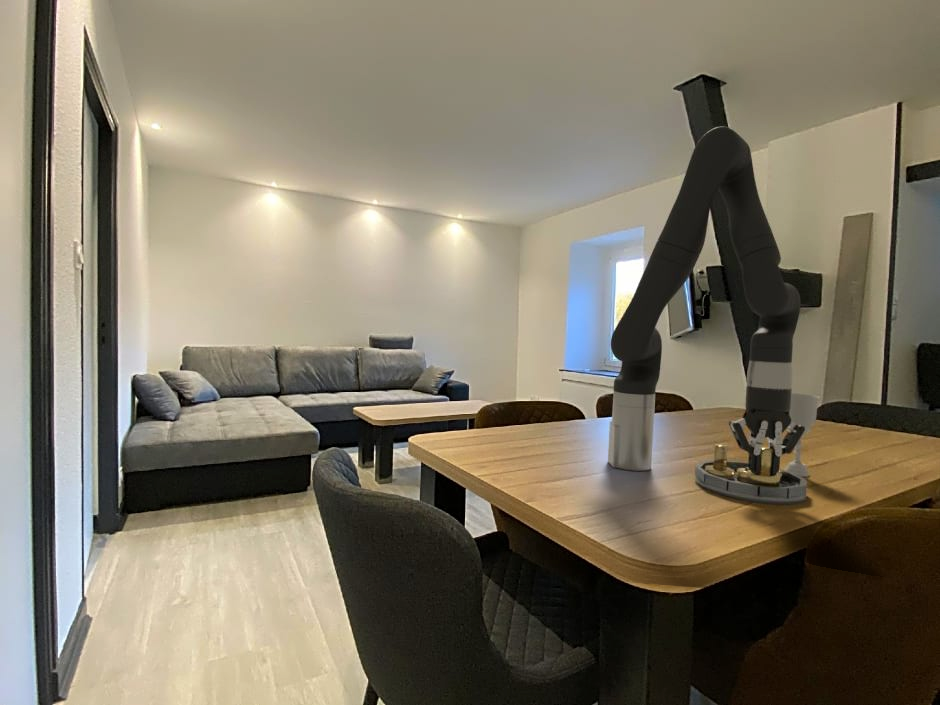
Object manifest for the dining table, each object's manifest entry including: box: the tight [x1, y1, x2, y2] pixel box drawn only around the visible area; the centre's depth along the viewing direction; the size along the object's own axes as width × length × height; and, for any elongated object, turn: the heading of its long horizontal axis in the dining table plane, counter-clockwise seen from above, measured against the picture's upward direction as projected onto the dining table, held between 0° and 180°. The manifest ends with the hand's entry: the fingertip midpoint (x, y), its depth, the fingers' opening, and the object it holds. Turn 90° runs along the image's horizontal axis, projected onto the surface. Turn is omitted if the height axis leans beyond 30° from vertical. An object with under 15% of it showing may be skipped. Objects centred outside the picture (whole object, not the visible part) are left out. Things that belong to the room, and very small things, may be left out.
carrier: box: [694, 443, 808, 505], centre depth 104 cm, size 20×20×8 cm
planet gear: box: [746, 446, 780, 486], centre depth 98 cm, size 6×6×7 cm
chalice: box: [784, 393, 821, 477], centre depth 116 cm, size 7×7×18 cm
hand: (763, 473), depth 98 cm, fingers closed on planet gear, 2 cm apart
